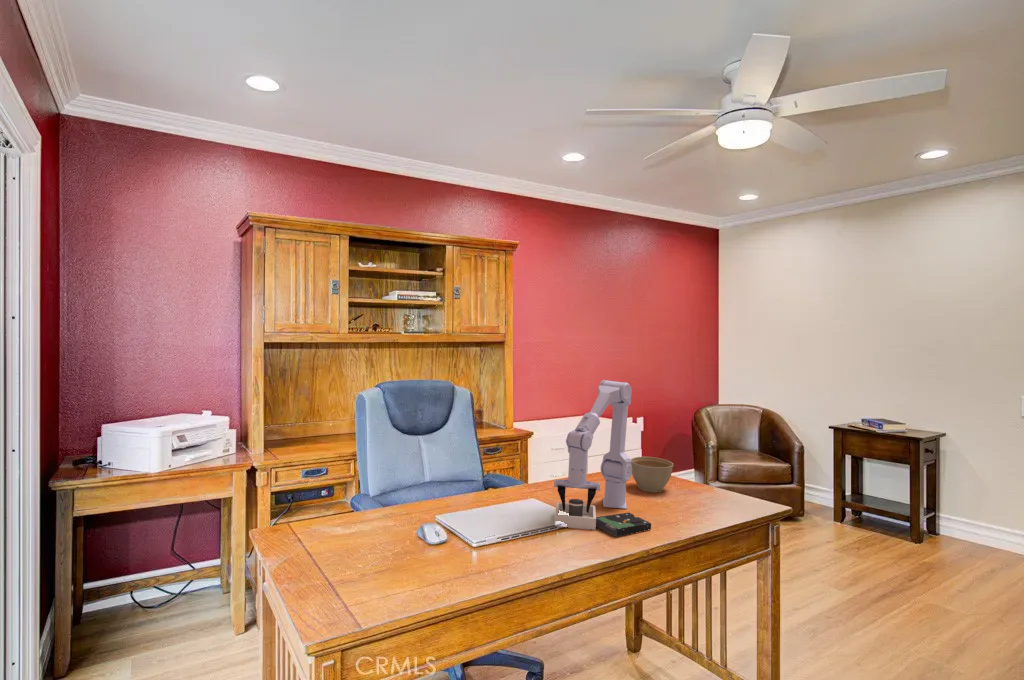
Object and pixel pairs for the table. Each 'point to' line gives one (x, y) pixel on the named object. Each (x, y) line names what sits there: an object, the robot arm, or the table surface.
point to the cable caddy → (577, 517)
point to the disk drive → (622, 524)
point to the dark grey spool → (575, 507)
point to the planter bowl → (651, 473)
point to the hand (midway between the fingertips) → (575, 510)
